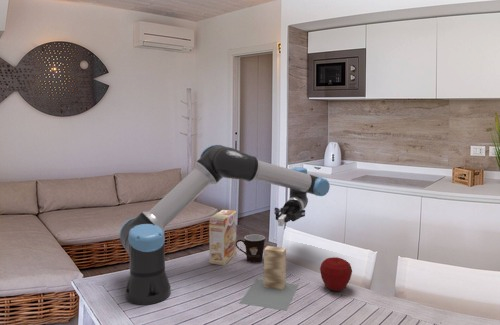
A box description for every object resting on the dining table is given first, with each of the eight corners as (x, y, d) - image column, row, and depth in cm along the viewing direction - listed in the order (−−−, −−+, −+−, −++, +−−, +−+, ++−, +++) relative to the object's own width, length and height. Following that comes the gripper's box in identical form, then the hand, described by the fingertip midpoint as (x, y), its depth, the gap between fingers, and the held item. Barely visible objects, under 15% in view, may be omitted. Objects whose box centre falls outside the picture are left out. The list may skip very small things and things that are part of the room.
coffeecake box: (224, 265, 167) (224, 219, 165) (208, 263, 169) (208, 217, 167) (237, 253, 181) (237, 210, 179) (222, 251, 183) (221, 209, 181)
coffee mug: (268, 259, 174) (268, 236, 173) (258, 265, 167) (258, 242, 166) (245, 254, 180) (245, 232, 179) (234, 260, 173) (234, 237, 172)
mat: (238, 304, 134) (238, 303, 134) (256, 280, 153) (256, 279, 153) (286, 311, 129) (286, 310, 129) (298, 285, 148) (298, 284, 148)
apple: (316, 292, 143) (316, 260, 142) (324, 280, 153) (324, 250, 151) (347, 298, 138) (349, 265, 137) (354, 286, 148) (355, 255, 147)
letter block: (263, 287, 146) (264, 249, 144) (266, 282, 150) (267, 245, 148) (282, 289, 144) (283, 251, 142) (285, 285, 148) (286, 247, 146)
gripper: (308, 217, 172) (297, 234, 149) (278, 215, 176) (263, 230, 153) (309, 200, 171) (298, 214, 148) (278, 198, 175) (263, 211, 152)
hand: (280, 222), depth 151 cm, fingers closed
